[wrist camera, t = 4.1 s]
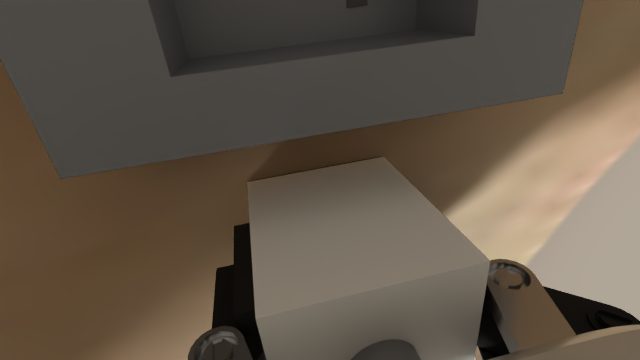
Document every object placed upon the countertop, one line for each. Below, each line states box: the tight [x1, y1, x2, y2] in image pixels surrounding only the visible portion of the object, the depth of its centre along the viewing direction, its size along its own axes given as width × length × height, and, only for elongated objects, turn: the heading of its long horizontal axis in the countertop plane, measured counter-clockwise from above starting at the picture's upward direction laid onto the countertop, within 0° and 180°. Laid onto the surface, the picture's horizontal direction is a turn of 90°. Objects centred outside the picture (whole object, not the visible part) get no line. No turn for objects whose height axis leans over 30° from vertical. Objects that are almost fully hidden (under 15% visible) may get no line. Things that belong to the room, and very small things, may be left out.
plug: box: [247, 157, 490, 360], centre depth 10 cm, size 5×5×8 cm
